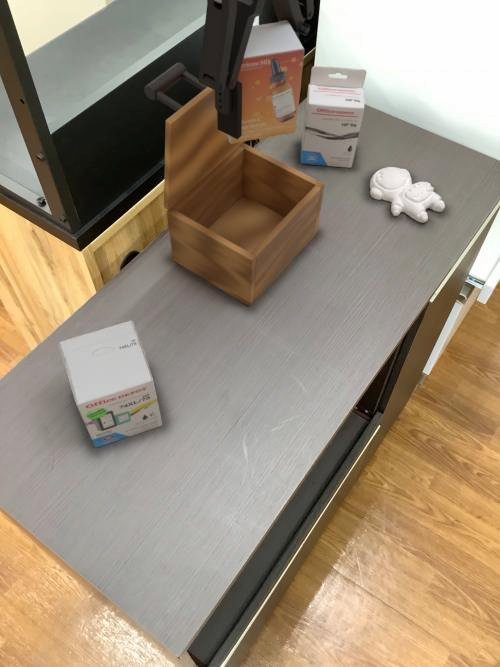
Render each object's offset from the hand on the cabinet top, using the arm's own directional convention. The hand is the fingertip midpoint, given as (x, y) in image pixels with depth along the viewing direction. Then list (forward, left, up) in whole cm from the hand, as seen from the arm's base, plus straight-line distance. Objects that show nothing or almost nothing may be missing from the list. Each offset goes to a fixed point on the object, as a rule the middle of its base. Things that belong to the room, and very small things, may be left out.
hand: (257, 108), depth 70 cm
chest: (-1, 0, -24) cm, 24 cm away
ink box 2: (+8, +22, -25) cm, 34 cm away
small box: (0, 0, -2) cm, 2 cm away
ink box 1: (-12, -28, -25) cm, 39 cm away
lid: (-6, +3, -7) cm, 9 cm away
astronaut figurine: (+21, +15, -25) cm, 36 cm away
